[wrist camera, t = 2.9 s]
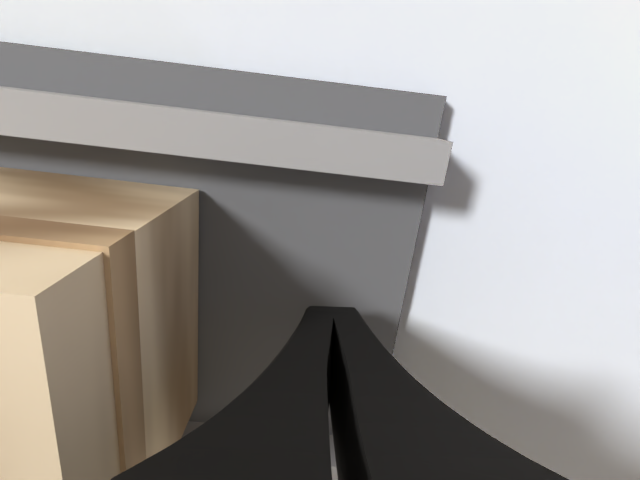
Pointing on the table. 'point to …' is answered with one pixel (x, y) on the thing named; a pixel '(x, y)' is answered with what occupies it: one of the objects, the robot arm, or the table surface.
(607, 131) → the table surface
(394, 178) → the crate bay
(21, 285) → the block
